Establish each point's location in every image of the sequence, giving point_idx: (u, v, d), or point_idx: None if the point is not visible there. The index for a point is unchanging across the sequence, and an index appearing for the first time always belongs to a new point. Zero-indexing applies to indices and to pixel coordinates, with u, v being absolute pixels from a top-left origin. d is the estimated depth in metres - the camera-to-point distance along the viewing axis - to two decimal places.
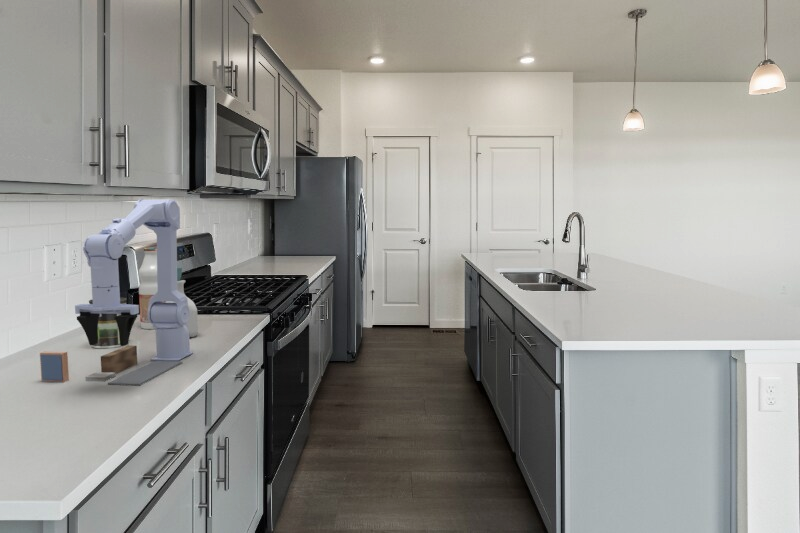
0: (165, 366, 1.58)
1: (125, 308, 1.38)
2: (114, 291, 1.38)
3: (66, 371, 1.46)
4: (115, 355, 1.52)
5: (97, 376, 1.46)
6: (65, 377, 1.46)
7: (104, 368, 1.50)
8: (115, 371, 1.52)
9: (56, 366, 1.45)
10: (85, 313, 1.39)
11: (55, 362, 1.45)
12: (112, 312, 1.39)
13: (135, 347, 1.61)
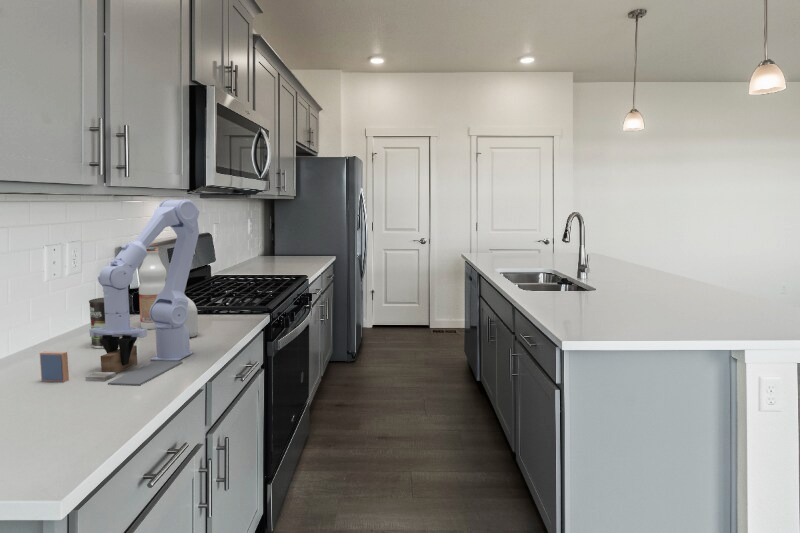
0: (165, 366, 1.58)
1: (134, 332, 1.54)
2: (124, 317, 1.54)
3: (66, 371, 1.46)
4: (115, 355, 1.52)
5: (97, 376, 1.46)
6: (65, 377, 1.46)
7: (104, 368, 1.50)
8: (115, 371, 1.52)
9: (56, 366, 1.45)
10: None
11: (55, 362, 1.45)
12: (123, 335, 1.55)
13: (135, 347, 1.61)
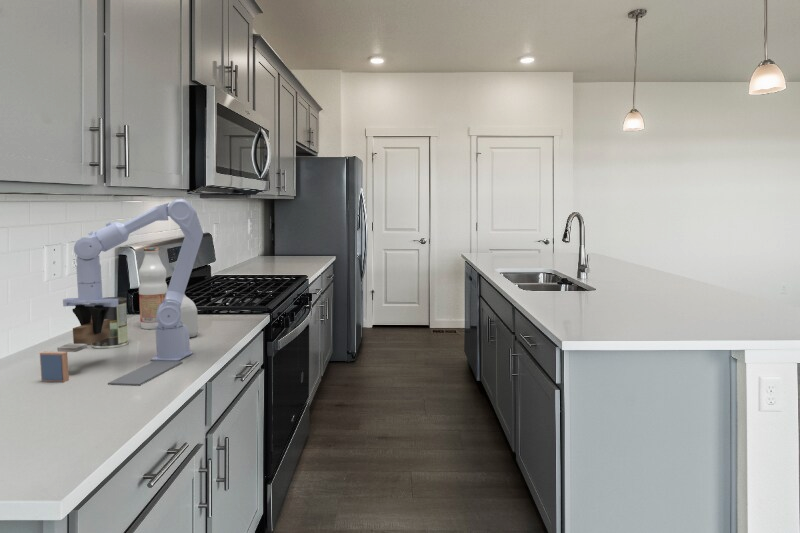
0: (165, 366, 1.58)
1: (106, 301, 1.58)
2: (96, 287, 1.59)
3: (66, 371, 1.46)
4: (87, 327, 1.57)
5: (69, 347, 1.51)
6: (65, 377, 1.46)
7: (76, 340, 1.55)
8: (87, 343, 1.57)
9: (56, 366, 1.45)
10: None
11: (55, 362, 1.45)
12: None
13: (108, 320, 1.66)
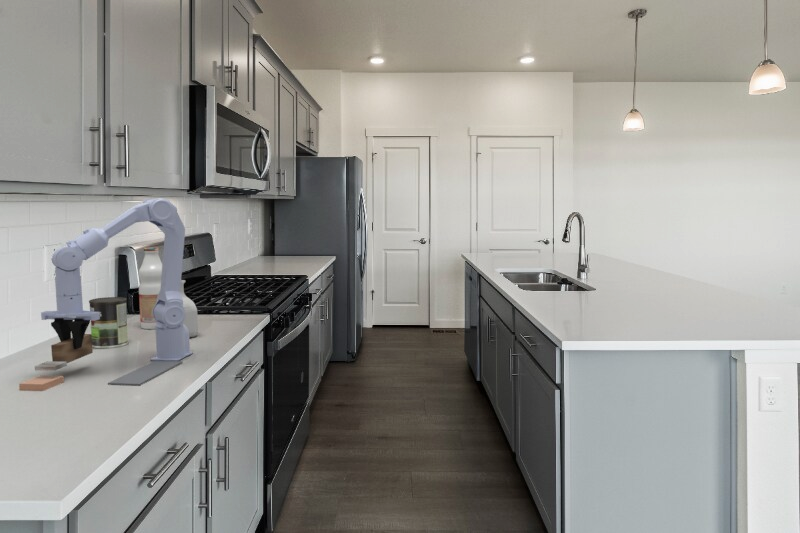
0: (165, 366, 1.58)
1: (86, 315, 1.50)
2: (76, 299, 1.51)
3: (57, 381, 1.43)
4: (67, 344, 1.49)
5: (47, 366, 1.44)
6: (60, 382, 1.44)
7: (55, 357, 1.47)
8: (67, 360, 1.49)
9: None
10: None
11: None
12: (75, 318, 1.52)
13: (90, 335, 1.58)
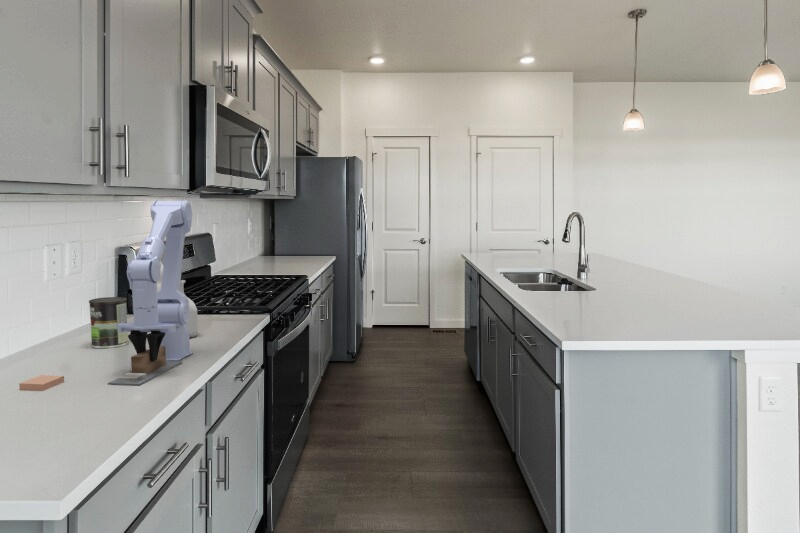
0: (165, 366, 1.58)
1: (164, 327, 1.50)
2: (153, 311, 1.51)
3: (57, 381, 1.43)
4: (145, 355, 1.50)
5: (129, 377, 1.44)
6: (61, 382, 1.45)
7: (134, 369, 1.48)
8: (145, 372, 1.50)
9: None
10: (126, 331, 1.52)
11: None
12: (151, 331, 1.52)
13: (164, 347, 1.59)
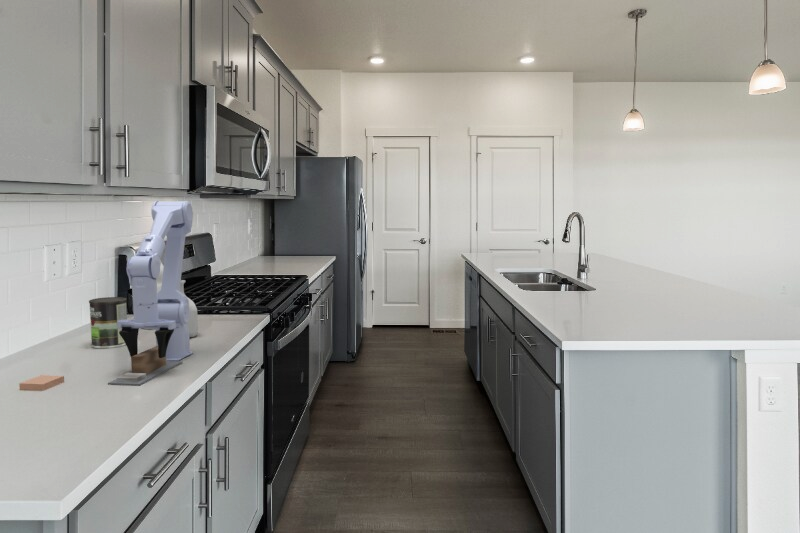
0: (165, 366, 1.58)
1: (163, 324, 1.50)
2: (153, 308, 1.51)
3: (57, 381, 1.43)
4: (145, 355, 1.50)
5: (129, 377, 1.44)
6: (61, 382, 1.45)
7: (134, 369, 1.48)
8: (145, 372, 1.50)
9: None
10: (126, 328, 1.52)
11: None
12: (151, 327, 1.52)
13: None
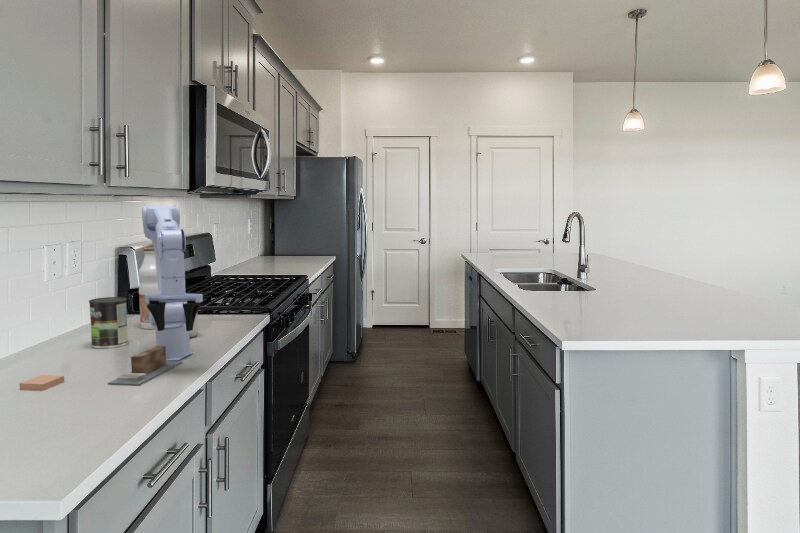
0: (165, 366, 1.58)
1: (191, 297, 1.52)
2: (181, 281, 1.52)
3: (57, 381, 1.43)
4: (145, 355, 1.50)
5: (129, 377, 1.44)
6: (61, 382, 1.45)
7: (134, 369, 1.48)
8: (145, 372, 1.50)
9: None
10: (154, 302, 1.53)
11: None
12: (179, 301, 1.53)
13: (164, 347, 1.59)
